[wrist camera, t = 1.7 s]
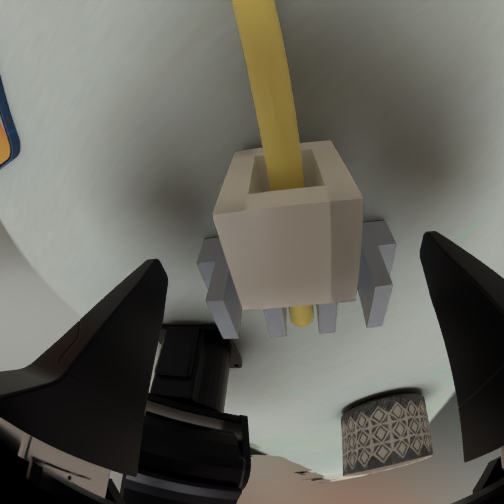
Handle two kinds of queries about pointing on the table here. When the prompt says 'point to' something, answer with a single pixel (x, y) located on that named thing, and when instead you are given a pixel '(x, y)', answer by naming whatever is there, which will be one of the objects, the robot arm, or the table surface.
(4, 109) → the smartphone
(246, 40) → the rod
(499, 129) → the table surface
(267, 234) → the sleeve
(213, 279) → the comb
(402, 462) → the planter
